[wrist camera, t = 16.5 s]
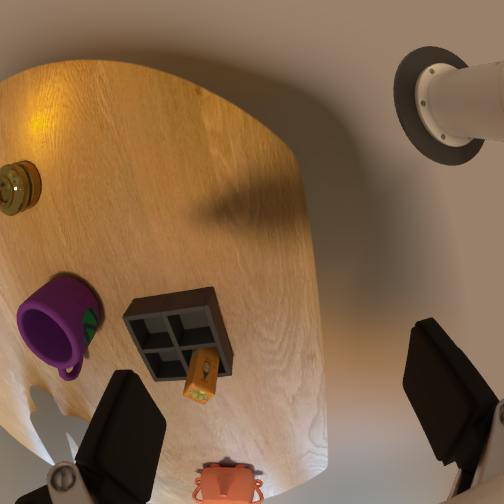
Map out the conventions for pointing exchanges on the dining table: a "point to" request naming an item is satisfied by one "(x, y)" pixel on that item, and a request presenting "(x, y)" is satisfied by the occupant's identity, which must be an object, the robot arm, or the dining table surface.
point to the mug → (60, 323)
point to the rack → (178, 332)
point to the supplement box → (202, 374)
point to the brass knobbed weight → (18, 187)
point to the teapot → (227, 485)
